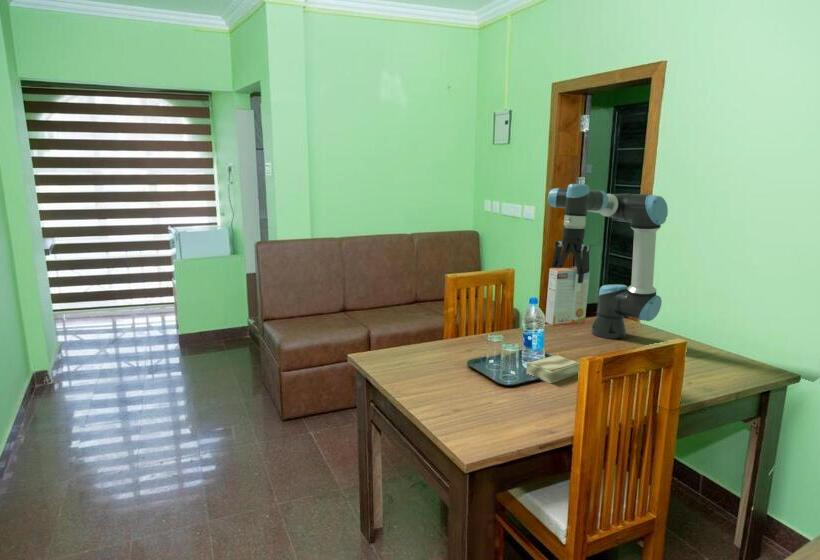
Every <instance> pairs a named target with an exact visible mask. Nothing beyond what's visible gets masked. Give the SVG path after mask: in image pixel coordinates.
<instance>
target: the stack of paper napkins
mask: <svg viewBox="0 0 820 560" xmlns="http://www.w3.org/2000/svg"><path fill="white" fill-rule="evenodd" d="M579 363H580V362H578V361H576V360H572V359H569V358H566V357H563V356H560V355H558V354H554V355H551V356H547V357H544V358H540V359H536V360H534V361H530V362H528V363H527V362H526V368H525V369H526V371H525V373H526V375H528V374H529V375H528V376H530V375H532V376H531V377H533V376H535V377H538V378H540V379H539V380H540V381H544V382H546V383H548V384H553V383H556V382H559V381H562V380H564V379H568V378H571V377H573V376H576V375H578V374H577V373H578V365H579ZM535 377H534V378H535ZM538 378H537V379H538Z"/></svg>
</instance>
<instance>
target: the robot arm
mask: <svg viewBox="0 0 820 560" xmlns="http://www.w3.org/2000/svg"><path fill="white" fill-rule="evenodd" d="M547 195H548V196H547V203H548V205H549V206H550V207H552V208H556V209H565V211H564V219H563V226H564V227H563V229H562V240H560V241H555V243H554V246H555V249H554V253H553V258H552V261H551V268H564V266H565V263H566V261H567V260H568V259H567V258H568V257H569V255H570V254H572V256H573V257H574V260H575V262H574V263H575V265H576V268H577V271H578V273H577V274H576V277H575V287H574V292H579V291H580V289H581V283H583V277H584V274H585V273H589V270H590V251H591V245H587V244H585V243H584V239H585V231H586V229H585V227H586V223H587V213H588V212H589V213H597V214H600V215H601V216H603V217H606V218H607V217H608V218H611V219H615V220H620V221H623V222H630V228H631V229H632V230H633V246H632V249H633V250H632V264H631V282H630V283H631V284H630V285H629V286H627V285H625V284H604V285H602V286H600V287H599V293H598V299H597V301H598V302H597V310H596V311H597V312H596V317H595V319H594V321H593V324H592V326H591V331H590V333H591V334H592V335H594V336H597V337H599V338H604V339H609V340H610V339H613V340H618V339H617V338H621V339H624V337H625V338H626V337H627V328H626V324H625V320H624V317H629V318H631V319H636V320H639V321H646V322H651V321H653V320H654V319H655V318H657V316H658V314H659V313H660V311H661V308H662V303H663V302H662V298H661V296H659V295H657V289H656V288H655V286H654V275H655V274H654V272H655V258H656V242H657V231H659V230H660V229H661V228H662V225H663V224H665V222H666V221H667V218H668V215H669V214H668V212H669V210H668V203H667V202H666V200H665V199H664V197H662V196H661V195H656V194H647V193H646V194H645V193H644V194H643V193H641V194H638V193H607V192H605V191H604V190H600V189H590V186H589V185H588V184H584V183H583V184H580V183H579V184H578V183H570V184H568V185H567V188H564V187H563V188H561V187H556V188H555V187H554V188H552V189H550V191H549V192H548V194H547Z"/></svg>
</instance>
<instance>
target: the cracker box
mask: <svg viewBox="0 0 820 560" xmlns="http://www.w3.org/2000/svg"><path fill="white" fill-rule="evenodd" d="M577 273H578V271H577V267H563V268H554V267H551V268H549V271H548V282H547V296H546V297H547V298H546V308H545V318H544V319H545V320H544V322H545V323H546V324H548V325H550V326H552V327H559V326H561V327H562V326H572V325H573V326H575V325H576V326H577V325H585V324H586V316H587V315H586V314H587V305H588V294H589V284H590V276H591V275H590V273H591V270H590V269H589V273H585V274H584V277H583V283H581V289H580V291H579V292H574V287H575V277H576V274H577Z"/></svg>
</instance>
